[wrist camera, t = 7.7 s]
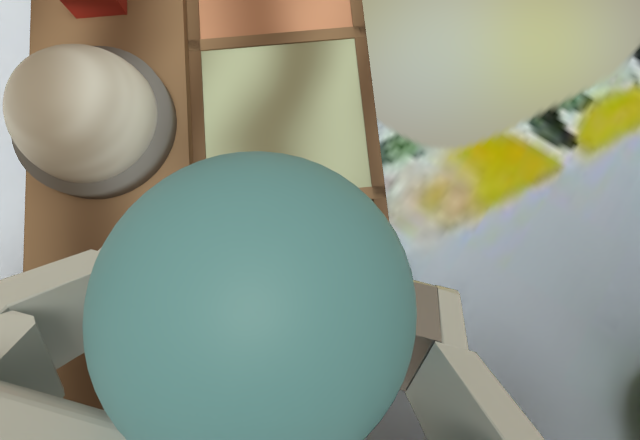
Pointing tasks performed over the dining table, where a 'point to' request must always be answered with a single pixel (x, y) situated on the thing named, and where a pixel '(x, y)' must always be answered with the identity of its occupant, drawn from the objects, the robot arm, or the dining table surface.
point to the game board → (178, 108)
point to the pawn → (250, 306)
